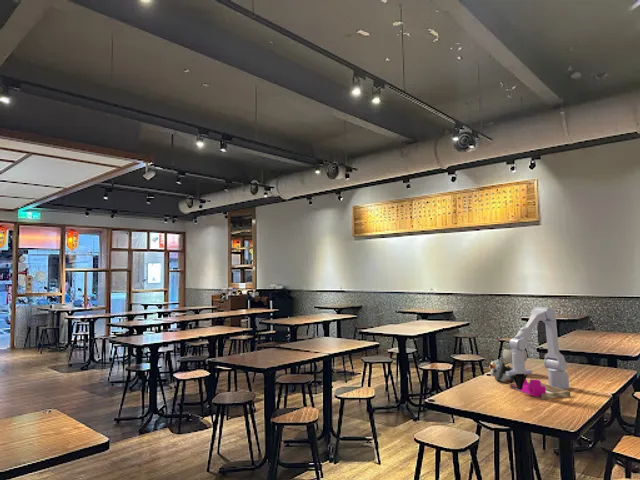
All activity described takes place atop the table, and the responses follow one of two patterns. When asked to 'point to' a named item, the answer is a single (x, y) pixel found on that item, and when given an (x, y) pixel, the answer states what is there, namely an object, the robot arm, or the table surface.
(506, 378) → the grey plush toy
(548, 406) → the table surface
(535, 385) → the toy block
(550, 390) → the wooden board
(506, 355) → the chalice
